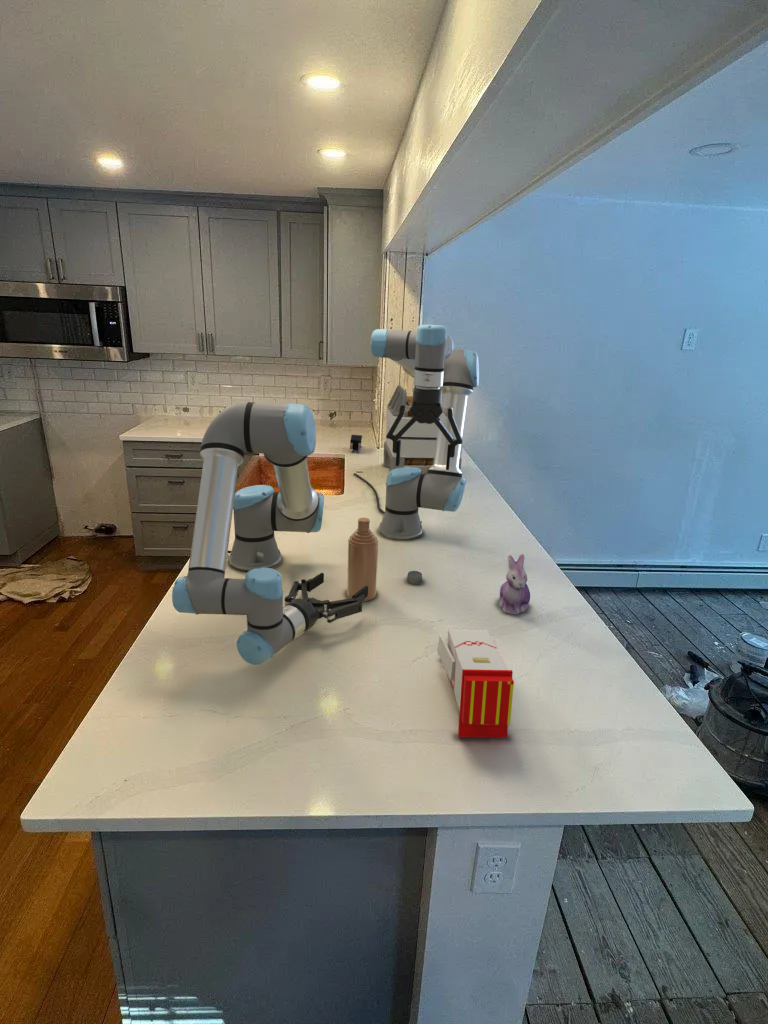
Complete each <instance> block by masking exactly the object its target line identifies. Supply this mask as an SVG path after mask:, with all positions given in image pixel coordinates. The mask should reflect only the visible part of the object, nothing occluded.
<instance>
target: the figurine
mask: <svg viewBox="0 0 768 1024" xmlns="http://www.w3.org/2000/svg"><path fill="white" fill-rule="evenodd" d="M507 561H508V562H507V563H508V571H507V573H506V576H505V578H506V581H505V582H504V583H503V584H501V586H500V588H499V589H500V590H499V598H498V605H499V607H500V608H501V609H502V611H503V612H504V613H507V614H511V615H518V614H519V613H525V612H526V611H527V609H528V607H529V604H530V601H531V591H530V588H529V585H528V584H527V582H528V575H527V571H526V570H525V568H524V567H525V566H524V563H525V554H524V553H521V554H520V555H519V557H518V558H517V560H515V559H514V557H513V556H512V555H511V554H509V555H508V556H507Z"/></svg>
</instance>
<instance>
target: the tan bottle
mask: <svg viewBox="0 0 768 1024" xmlns="http://www.w3.org/2000/svg"><path fill="white" fill-rule="evenodd" d="M370 523H371V519H370V518H368V517H359V518H358V519H357V529H355V531H354V532H353V533H351V535H350V536H349V537H348V540H347V570H346V571H347V572H346V573H347V574H346V575H347V578H346V595H347V597H348V599H351V598H352V596H353V595H354V594H356V593H357V592H358V591H360V590H361V589H362V588H364V587H365V586H368V596H367V597H366V598H365V599H364V602H367V601H370V600H373V599H374V598H376V596H377V581H378V580H377V579H378V560H379V559H378V557H379V555H378V554H379V540H378V537H377V536H376V534H375V533H374V532H373V531H372V530H371V529H370Z"/></svg>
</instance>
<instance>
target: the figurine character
mask: <svg viewBox="0 0 768 1024" xmlns="http://www.w3.org/2000/svg"><path fill="white" fill-rule="evenodd" d="M362 439H363V435H361V434H351V436H350V442H349V450H351V453H354V452H357V453H359V452H360V451H361V450H362V448H363V446H362Z"/></svg>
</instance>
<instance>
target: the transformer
mask: <svg viewBox="0 0 768 1024" xmlns="http://www.w3.org/2000/svg"><path fill="white" fill-rule="evenodd" d="M407 394H408V393H407V390H406V389H404V388H403V387H402V385H399V384H398V385H397V386H396V388H395V390H394V392H393V394H392V395H391V398H390V400H389V402H388V404H387V405H386V413H385V414H386V415H385V423H386V428H385V438H384V442H383V466H384V467H388V468H389V472H390V471H391V470H393V469H396V468H401V467H405V466H406V467H417V466H418V467H431V466H432V465H433V463H434V455H435V447H436V439H437V431H438V427H437V426H436V424H435V423H432V424H427V423H419V422H417V421H416V422H415V423H414V424H413V425H412V426H411V427H410V428H409V429H408V430H407V431H406V432H405V433H404V434H403V435H402V436H401V437H400V438H399V439H398V440H401V450H400V464H399V466H396V453H393V441H392V440H391V439H388V438H387V437H386V436H387V434H388V432H389V430H390V429H391V427H392V425H393V423H394V422H395V420H396V418H397V416H398V414H399V411H400V406H401V405H402V404H405V405H407V406H412V403H413V395H412V396H411V395H407ZM412 418H413V414H412V413H411V411H410V410H409V411H408V412H407V413H406V414H404V415H403V417H402V419H401V421H400V422H399V424H398V426H397V428H396V429H395V431H394V433H393V435H396V434H397V433H398V432H399V431H400V430H401V429H402V428H403V427H404V426H405V425H406V424H407V423H408V422H409V421H410V420H411V419H412ZM465 421H466V420H464V422H465ZM464 429H465V427H464V428H463V433H464V431H465V430H464ZM463 438H464V435H463V436H462V439H463ZM463 442H464V440H463V441H462V444H461V451H460V459H459V469H460V471H461V472H462V461H463V460H462V453H463Z"/></svg>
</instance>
